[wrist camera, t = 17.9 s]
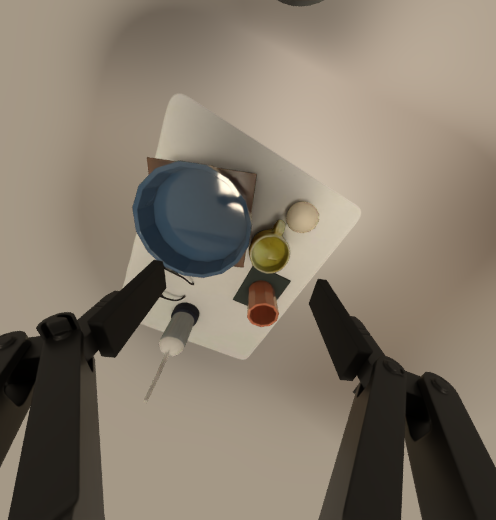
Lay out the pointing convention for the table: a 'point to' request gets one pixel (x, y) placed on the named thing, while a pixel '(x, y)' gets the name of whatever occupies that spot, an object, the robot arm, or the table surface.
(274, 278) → the mat
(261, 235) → the mug
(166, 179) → the bowl
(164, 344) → the humidifier
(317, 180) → the table surface
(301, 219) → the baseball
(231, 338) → the table surface
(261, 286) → the cup
